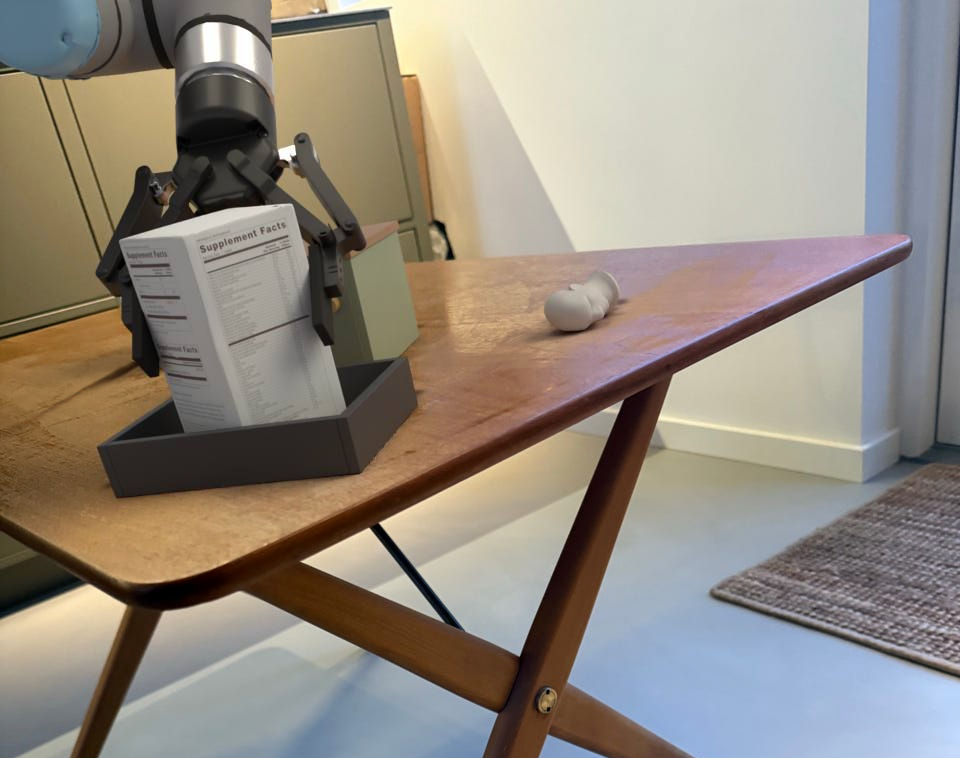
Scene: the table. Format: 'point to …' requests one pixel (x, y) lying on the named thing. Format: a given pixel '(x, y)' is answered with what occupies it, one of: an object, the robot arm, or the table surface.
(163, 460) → the tray
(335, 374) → the supplement box
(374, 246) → the cabinet
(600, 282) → the smooth white sculpture
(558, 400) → the table surface
